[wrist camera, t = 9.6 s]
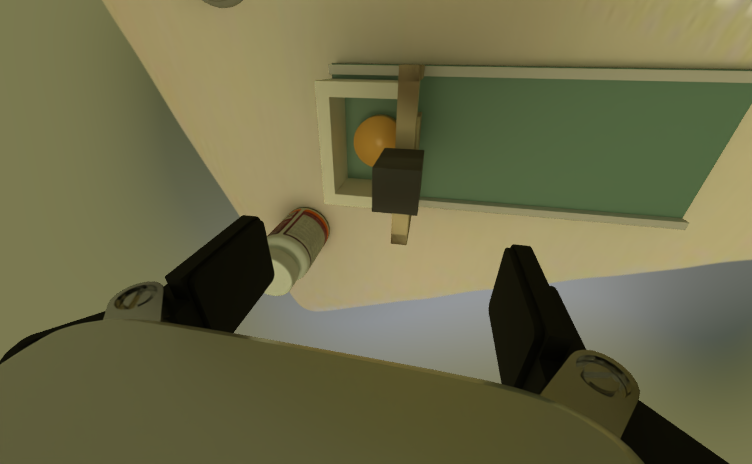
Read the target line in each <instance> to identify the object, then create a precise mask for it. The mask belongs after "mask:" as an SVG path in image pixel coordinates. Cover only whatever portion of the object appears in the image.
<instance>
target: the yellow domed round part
mask: <svg viewBox="0 0 752 464" xmlns="http://www.w3.org/2000/svg"><path fill="white" fill-rule="evenodd" d="M395 142H396V120H395V119H394V118H392V117H390V116H388V115H384V114H377V115H373V116H371V117H369V118H368V119H366V120H365V121H364V122H362V123H361V124H360V125H359V127H358V128H357V130H356V132H355V135H354V148H355V151H356V154H357V155H358V157H359V158H360V159H361V161H363V162H364V163H365V164H367V165H369V166H371V167H373V165H374V164H375V162H376V161H377V159H378V158H379V156H380V154H381V153H382V151H383V150H384V148H395Z"/></svg>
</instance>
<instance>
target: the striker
mask: <svg viewBox="0 0 752 464" xmlns="http://www.w3.org/2000/svg"><path fill="white" fill-rule="evenodd" d="M424 69H425V65H399V76H398V98H397V120H396V142H395V148H384V150H383V151H382V153H381V154H380V156H379V158H378V159H377V161H376V162H375V164H374V165H373V167H372V212H382V213H392V230H391V243H392V244H401V245H407V239H408V233H409V227H410V221H411V216H412V215H415V216H417V213H418V206H419V198H420V191H421V182H422V171H423V161H424V150H419V144H420V132H421V120H422V112H418V101H419V88H420V81H421V80H422V79H423V78H424Z"/></svg>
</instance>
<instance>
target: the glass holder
mask: <svg viewBox="0 0 752 464" xmlns="http://www.w3.org/2000/svg"><path fill="white" fill-rule="evenodd" d="M203 1H204V2H206V3H208V4H210V5H212V6H215V7H219V8H228V7H233V6H235V5H237V4H239V3H240V2H241V1H243V0H203Z"/></svg>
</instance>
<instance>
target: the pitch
mask: <svg viewBox="0 0 752 464" xmlns="http://www.w3.org/2000/svg"><path fill="white" fill-rule="evenodd" d="M399 65H407V64H340V63H332V65H328V66H329V74H332V79H325V80H317V81H314V84H315V96H316V108H317V120H318V132H319V144H320V156H321V168H322V180H323V192H324V204H331V205H342V206H353V207H364V208H372V167H371V166H369V165H367V164H365V163H364V162H363V161H361V159H360V158H359V157H358V155H357V154H356V151H355V148H354V135H355V132H356V130H357V128H358V127H359V125H360V124H361V123H362V122H364V121H365V120H366V119H368V118H369V117H371V116H373V115H377V114H384V115H388V116H390V117H392V118H394V119H395V120H397V98H398V76H399ZM751 104H752V70H741V69H675V68H608V67H541V66H474V65H425V69H424V78H423V79H422V80H421V81H420V88H419V101H418V112H422V120H421V132H420V144H419V150H424V161H423V171H422V182H421V191H420V198H419V206H418V207H429V208H440V209H451V210H463V211H474V212H486V213H497V214H508V215H520V216H531V217H543V218H554V219H565V220H577V221H588V222H600V223H611V224H622V225H634V226H645V227H657V228H668V229H679V230H685V229H686V228H687V226H688V224H689V222H687V221H686V220H684V219H682V218H683V216H684V214H685V213H686V211H687V210H688V208H689V206H690V205H691V203H692V201H693V200H694V198H695V196H696V195H697V193H698V191H699V190H700V188H701V186H702V185H703V183H704V181H705V180H706V178H707V176H708V175H709V173H710V172H711V170H712V168H713V167H714V165H715V163H716V162H717V160H718V158H719V157H720V155H721V153H722V152H723V150H724V148H725V147H726V145H727V143H728V142H729V140H730V138H731V137H732V135H733V134H734V132H735V130H736V129H737V127H738V125H739V124H740V122H741V120H742V119H743V117H744V115H745V114H746V112H747V110H748V109H749V107H750V105H751Z"/></svg>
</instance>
